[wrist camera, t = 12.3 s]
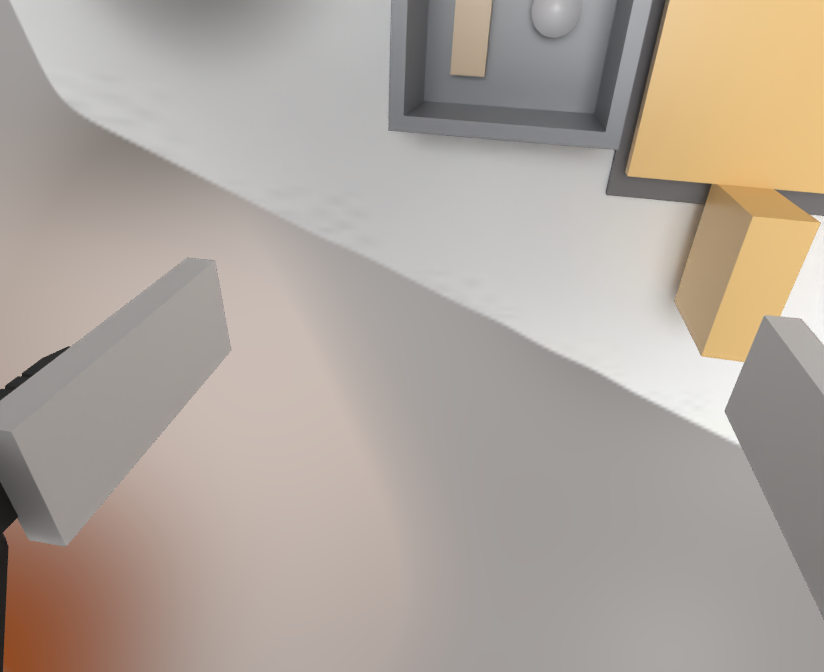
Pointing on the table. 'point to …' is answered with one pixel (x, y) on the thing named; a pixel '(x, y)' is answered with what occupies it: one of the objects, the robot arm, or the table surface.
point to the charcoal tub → (515, 68)
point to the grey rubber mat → (660, 187)
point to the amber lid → (737, 153)
